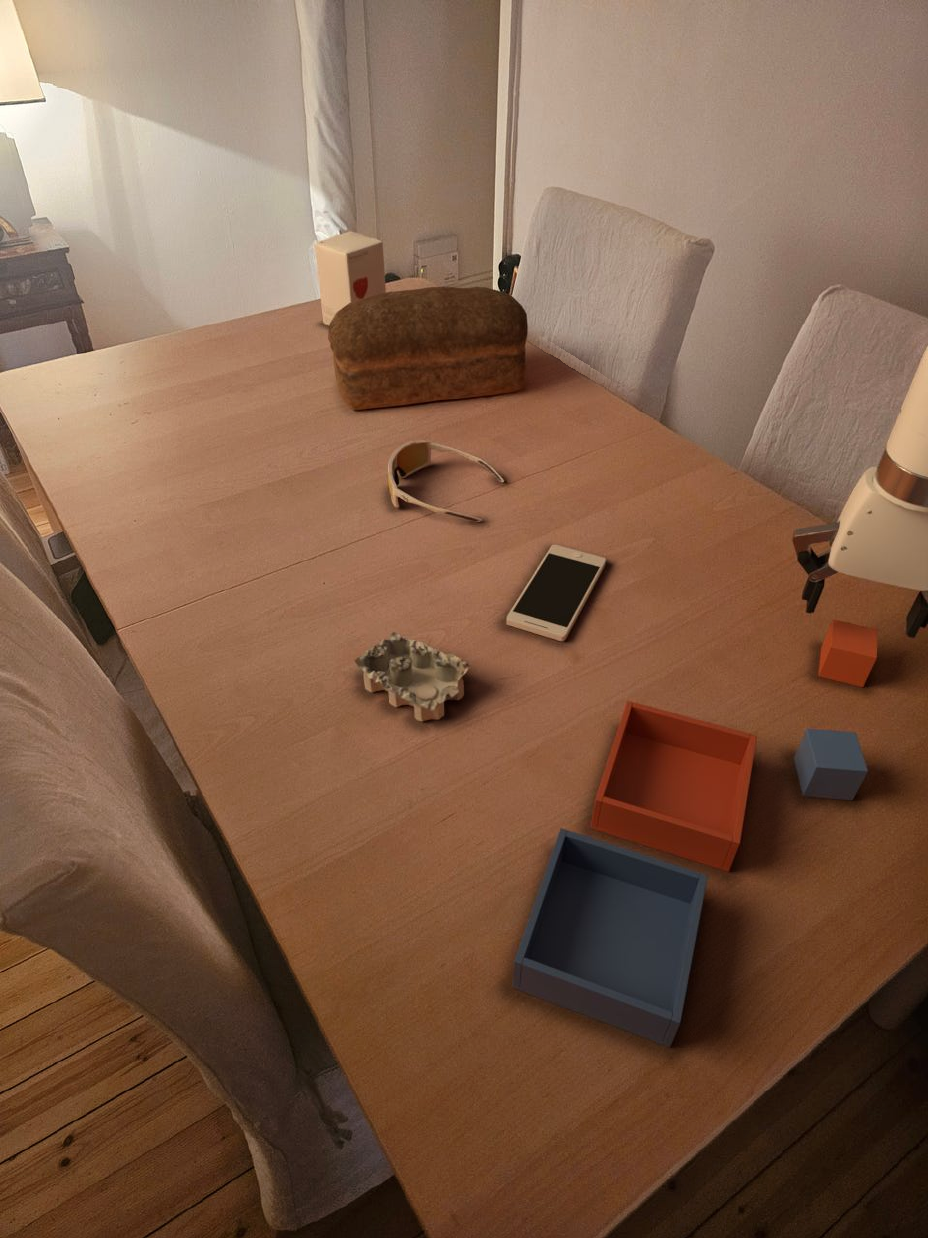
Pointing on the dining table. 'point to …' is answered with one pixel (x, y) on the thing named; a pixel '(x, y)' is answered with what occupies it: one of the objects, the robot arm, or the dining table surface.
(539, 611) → the smartphone
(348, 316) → the bread
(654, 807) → the terracotta bin
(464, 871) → the dining table surface
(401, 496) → the sunglasses
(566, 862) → the blue bin
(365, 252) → the white product box
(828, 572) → the robot arm
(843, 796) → the blue block
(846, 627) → the terracotta block
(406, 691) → the egg carton
